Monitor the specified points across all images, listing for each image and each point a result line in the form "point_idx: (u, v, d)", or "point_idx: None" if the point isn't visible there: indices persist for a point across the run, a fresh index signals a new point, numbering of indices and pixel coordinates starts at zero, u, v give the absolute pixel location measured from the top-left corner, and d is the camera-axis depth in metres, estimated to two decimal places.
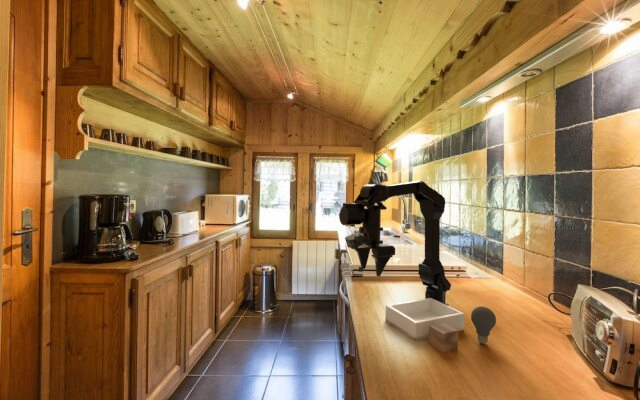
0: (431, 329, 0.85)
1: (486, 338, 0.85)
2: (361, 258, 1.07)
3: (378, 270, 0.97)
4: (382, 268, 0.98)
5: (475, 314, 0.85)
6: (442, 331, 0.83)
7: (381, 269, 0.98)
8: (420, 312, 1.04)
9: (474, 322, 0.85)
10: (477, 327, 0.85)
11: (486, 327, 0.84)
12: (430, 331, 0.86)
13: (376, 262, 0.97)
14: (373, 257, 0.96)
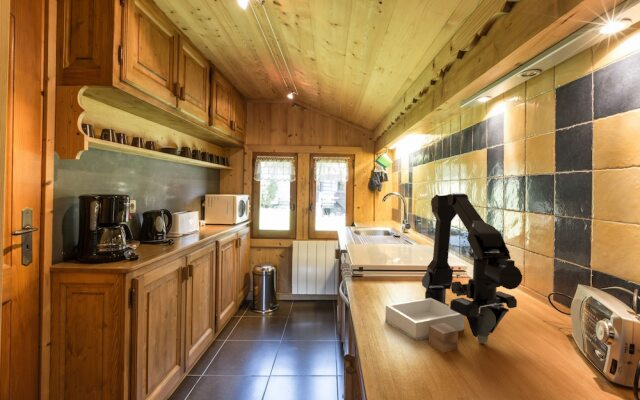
0: (431, 329, 0.85)
1: (486, 338, 0.85)
2: None
3: (471, 328, 0.85)
4: (475, 328, 0.84)
5: None
6: (442, 331, 0.83)
7: (474, 329, 0.84)
8: (420, 312, 1.04)
9: None
10: None
11: (486, 327, 0.84)
12: (430, 331, 0.86)
13: None
14: None
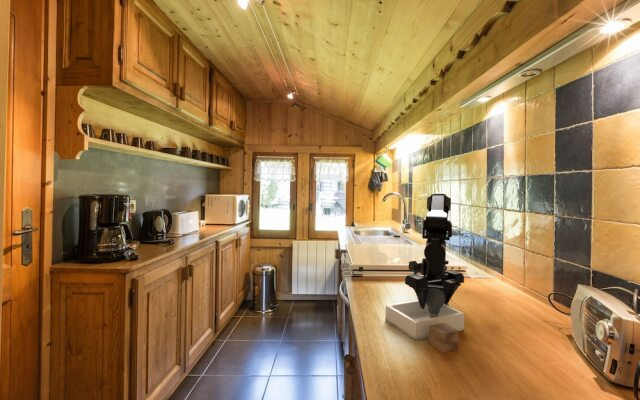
0: (431, 329, 0.85)
1: (436, 315, 0.98)
2: (444, 292, 1.01)
3: (419, 301, 0.97)
4: (422, 301, 0.96)
5: None
6: (442, 331, 0.83)
7: (421, 302, 0.96)
8: (420, 312, 1.04)
9: (426, 301, 0.98)
10: (428, 306, 0.98)
11: (435, 306, 0.96)
12: (430, 331, 0.86)
13: None
14: None
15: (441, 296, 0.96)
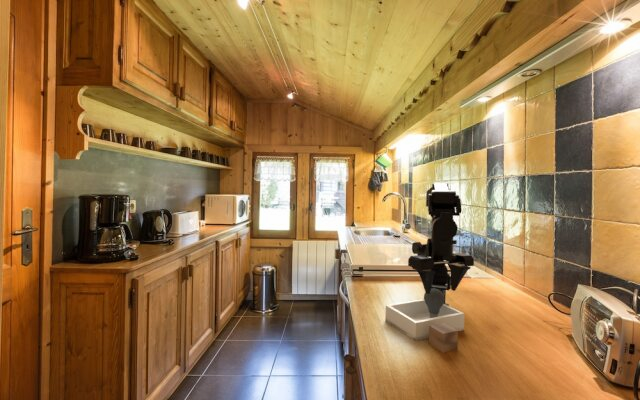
0: (431, 329, 0.85)
1: (436, 315, 0.98)
2: (451, 277, 0.91)
3: (424, 285, 0.87)
4: (427, 285, 0.86)
5: (426, 294, 0.98)
6: (442, 331, 0.83)
7: (426, 286, 0.86)
8: (420, 312, 1.04)
9: (425, 301, 0.98)
10: (428, 306, 0.98)
11: (435, 306, 0.96)
12: (430, 331, 0.86)
13: None
14: None
15: (441, 296, 0.96)
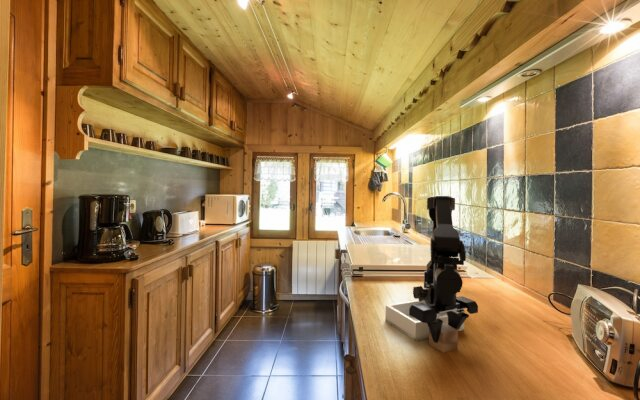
0: None
1: None
2: (449, 324, 0.86)
3: (431, 334, 0.84)
4: (435, 334, 0.82)
5: None
6: (442, 331, 0.83)
7: (434, 335, 0.83)
8: None
9: (426, 301, 0.98)
10: None
11: None
12: None
13: None
14: None
15: None
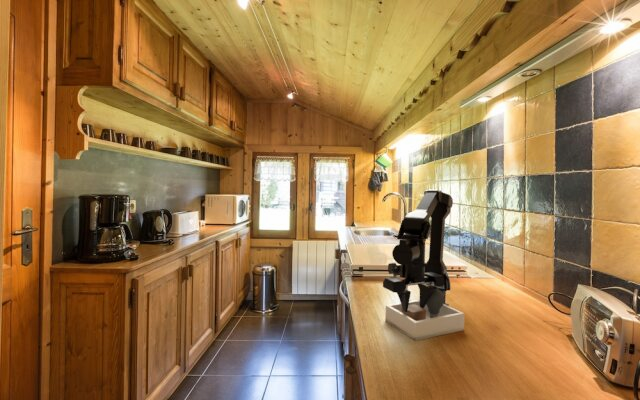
0: (402, 309, 0.96)
1: (436, 315, 0.98)
2: (420, 296, 0.97)
3: (402, 304, 0.94)
4: (404, 304, 0.93)
5: None
6: (412, 310, 0.94)
7: (404, 305, 0.94)
8: None
9: None
10: (428, 306, 0.98)
11: (435, 306, 0.96)
12: (402, 311, 0.97)
13: None
14: None
15: (441, 296, 0.96)
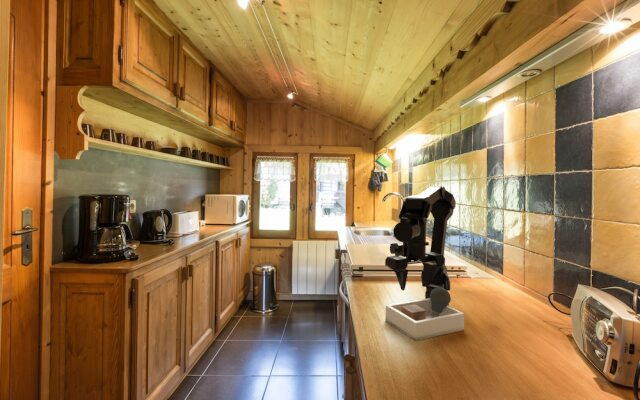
0: (402, 310, 0.96)
1: (438, 314, 0.98)
2: (425, 274, 1.01)
3: (399, 283, 0.96)
4: (402, 282, 0.95)
5: (434, 290, 0.99)
6: (412, 311, 0.94)
7: (401, 283, 0.95)
8: None
9: (431, 297, 0.99)
10: (433, 302, 0.99)
11: (440, 302, 0.97)
12: (402, 311, 0.97)
13: None
14: None
15: (448, 295, 0.98)
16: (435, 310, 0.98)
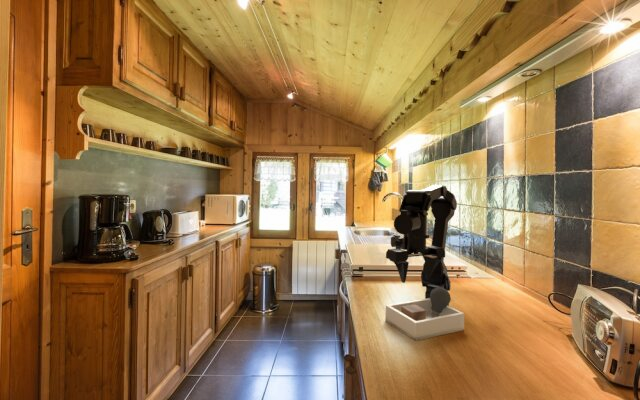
0: (402, 310, 0.96)
1: (438, 314, 0.98)
2: (425, 267, 1.02)
3: (400, 275, 0.97)
4: (402, 275, 0.96)
5: (434, 290, 0.99)
6: (412, 311, 0.94)
7: (402, 275, 0.96)
8: None
9: (431, 297, 0.99)
10: (433, 302, 0.99)
11: (440, 302, 0.97)
12: (402, 311, 0.97)
13: None
14: None
15: (448, 295, 0.98)
16: (435, 310, 0.98)
